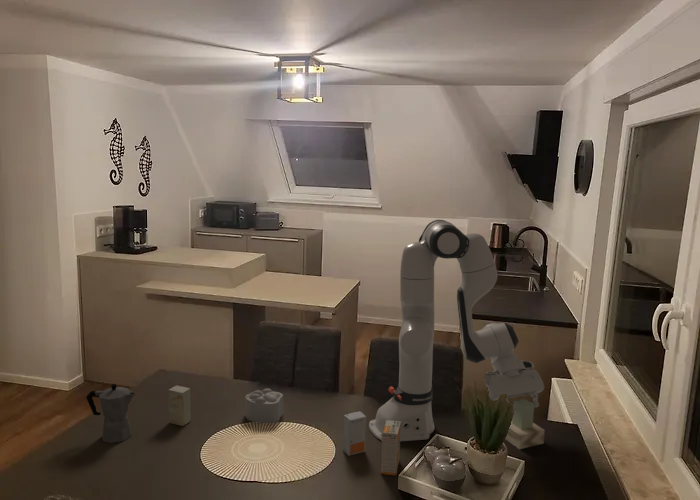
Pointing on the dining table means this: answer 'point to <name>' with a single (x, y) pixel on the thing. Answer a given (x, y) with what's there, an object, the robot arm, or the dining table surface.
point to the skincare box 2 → (354, 433)
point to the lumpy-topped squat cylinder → (264, 406)
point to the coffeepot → (113, 412)
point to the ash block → (525, 436)
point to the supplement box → (390, 447)
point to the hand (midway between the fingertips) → (524, 408)
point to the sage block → (523, 414)
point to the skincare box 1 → (179, 405)
